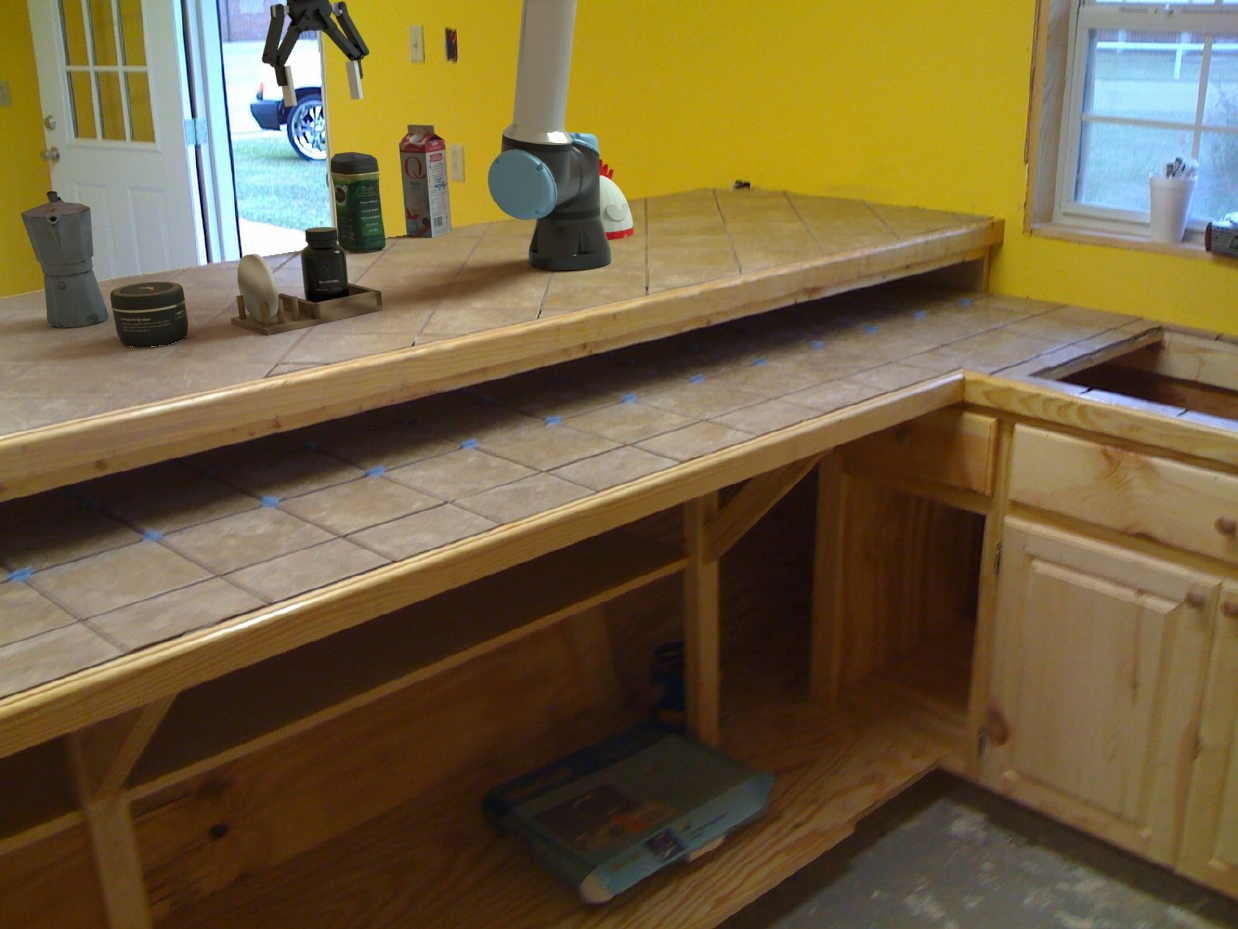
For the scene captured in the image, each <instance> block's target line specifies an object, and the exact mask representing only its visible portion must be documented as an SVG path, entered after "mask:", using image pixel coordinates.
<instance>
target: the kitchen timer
mask: <svg viewBox="0 0 1238 929" xmlns="http://www.w3.org/2000/svg"><path fill="white" fill-rule="evenodd" d="M599 167H600V215H601V222H602V225H603V227H604V230H605V233H606V236H607V239H608V241H614V239H615V240H622V239H625V237H626V238H629V237H628V236H630V237H632V236H633V235H634V220H633V215H632V213H631V210H630V207H629V203H628V201H627V199H626V197H625V195H624V193H623V192H622V190H621V189H620V188H619V186H618V185H617V184H616V183H615V182H614V181H613V180H612V179H613V178H612V177H613V176H614V171H615V170H614V169H613V168H610V169H609V163H608V164H607V163H604V161H603V159H601V158H599ZM608 170H609V171H608ZM631 235H632V236H631ZM621 238H622V239H621Z"/></svg>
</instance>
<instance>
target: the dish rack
mask: <svg viewBox="0 0 1238 929" xmlns="http://www.w3.org/2000/svg"><path fill="white" fill-rule="evenodd" d="M237 284H238V286H237V287H238V290H239V291H238V292H239V295H236V303H237V304H236V305H237V310H238V316H233V317H230V324H233V325H236V326H239V327H242V328H245V329H248V330H250V331H254V332H255V333H261V334H263V335H266V336H271V335H277V334H280V333H285V332H289V331H294V330H299V329H303V328H307V327H312V326H313V327H314V326H317V325H321V324H325V323H329V322H335V321H339V320H343V319H347V318H353V317H358V316H363V315H366V314H371V313H376V312H379V311H384V310H383V309H384V308H383V299H382V291H381V290H379V289H373V288H370V287H365V286H362V285H359V284H355V283H349V282H348V285H349V296H347V297H342V298H338V299H333V300H328V301H323V302H318V303H314V302H311V301H307V300H305V298H304V299H303V298H299V297H298V296H296V295H295V296H294V295H293V296H292V295H289V294H285V293H279V291H278V285H277V281H276V278H275V274H274V273H273V270H272V269H271V267H270V265H269V263H268V262H267V261H266V260H265V258H263V257H262V256H261V255H259V254H257V253H250V254H246V255H244V256H242V257H241V259H240V260H239V263H238V266H237ZM246 311H247V312H248V314H247V313H246Z"/></svg>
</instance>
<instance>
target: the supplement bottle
mask: <svg viewBox="0 0 1238 929" xmlns="http://www.w3.org/2000/svg"><path fill="white" fill-rule="evenodd" d="M304 236H305V239H304V240H305V243H307V245H306V246H304V247H303V249H302V250H301V252H300V262H301V263H300V264H301V273H302V282H303V291H304V292H303V293H304V300H307V301H311V302H314V303H318V302H323V301H328V300H333V299H338V298H342V297H347V296H349V285H348V283H349V277H348V276H349V274H348V265H347V254H346V250H344V249H343V247H341V246H340V245H339V244H338V232H337V227H334V226H333V227H332V226H317V227H309V228H306V229H305V230H304Z"/></svg>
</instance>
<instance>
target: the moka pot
mask: <svg viewBox="0 0 1238 929" xmlns="http://www.w3.org/2000/svg"><path fill="white" fill-rule="evenodd" d="M46 196H47V199H48V201H49V202H46V203H44V204H42V205H41V204H40V205H37V206H35V207H31V208H29V209H27V210H24V211H22V212H21V213H20V216H21V220H22V223H23V225H24V227H25V231H26V233H27V236H28V238H29V242H30V244H31V247H32V249H33V253H34V256H35V258H36V260H37V262H38V263H39V264H40V268H41V272H42V274H43V281H44V282H43V283H44V295H45V309H46V321H47V322H46V324H47V325H48V326H50V327H53V326H59V327H75V328H80V327H79V326H83V327H87V326H92V325H96V324H98V323H101V322H103V321H105V320H107V319H108V318H109V311H108V309H107V305H106V303H105V300H104V297H103V294H102V292H101V289H100V286H99V283H98V280H97V278H96V275H95V272H94V270H93V267H94V265H93V260H92V258H93V256H94V245H93V244H94V243H93V242H94V241H93V227H92V226H93V225H92V215H91V214H92V213H91V212H92V210H91V207H90V206H87V205H86V204H85V205H84V204H82V203H80V202H65V201H64V200H62V198H61V197H60V196H58V191H54V190H50V191H48V192H46Z"/></svg>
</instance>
